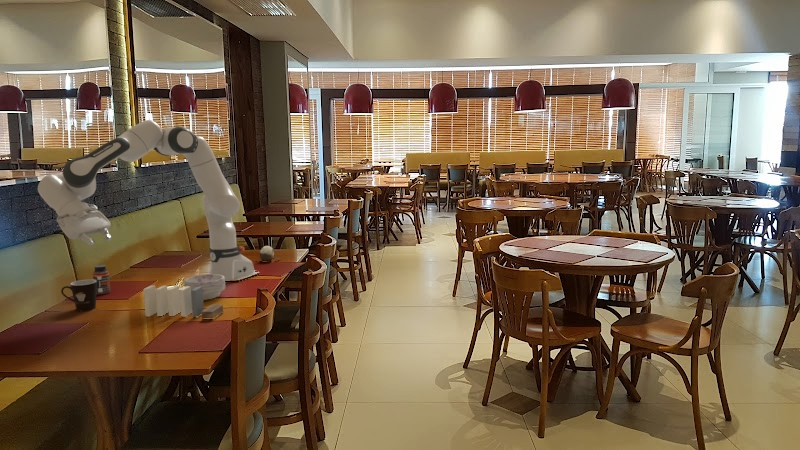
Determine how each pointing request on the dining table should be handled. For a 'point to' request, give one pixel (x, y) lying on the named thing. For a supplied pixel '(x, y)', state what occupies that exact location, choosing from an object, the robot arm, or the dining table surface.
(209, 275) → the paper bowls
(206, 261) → the dining table surface
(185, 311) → the domino
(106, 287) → the supplement bottle
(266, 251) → the skull
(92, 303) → the coffee mug
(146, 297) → the domino
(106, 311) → the dining table surface
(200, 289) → the domino
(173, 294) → the domino
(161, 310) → the domino
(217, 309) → the end block
